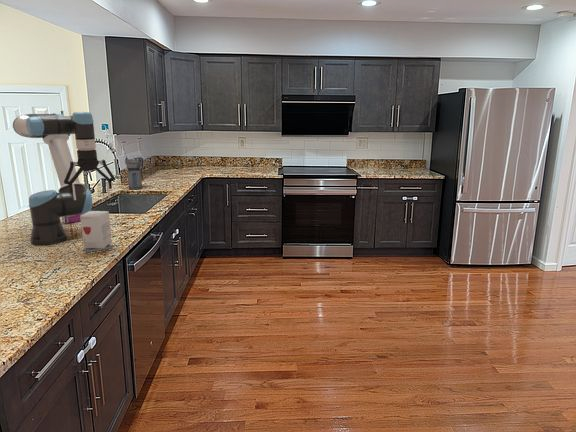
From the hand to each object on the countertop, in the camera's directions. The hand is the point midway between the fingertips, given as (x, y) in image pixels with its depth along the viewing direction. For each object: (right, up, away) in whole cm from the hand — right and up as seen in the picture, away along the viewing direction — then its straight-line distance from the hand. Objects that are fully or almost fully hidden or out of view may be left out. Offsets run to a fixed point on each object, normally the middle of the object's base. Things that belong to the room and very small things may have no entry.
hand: (92, 197), depth 181 cm
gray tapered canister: (-33, +13, +142) cm, 147 cm away
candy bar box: (-33, -11, +49) cm, 60 cm away
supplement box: (+1, -21, +4) cm, 22 cm away
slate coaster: (+1, -23, +4) cm, 23 cm away
